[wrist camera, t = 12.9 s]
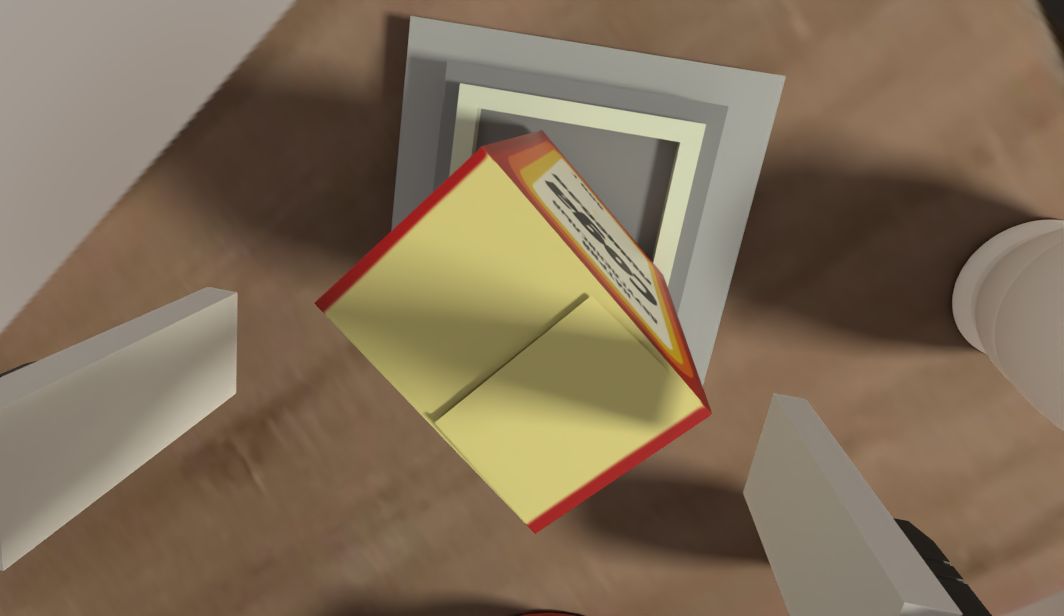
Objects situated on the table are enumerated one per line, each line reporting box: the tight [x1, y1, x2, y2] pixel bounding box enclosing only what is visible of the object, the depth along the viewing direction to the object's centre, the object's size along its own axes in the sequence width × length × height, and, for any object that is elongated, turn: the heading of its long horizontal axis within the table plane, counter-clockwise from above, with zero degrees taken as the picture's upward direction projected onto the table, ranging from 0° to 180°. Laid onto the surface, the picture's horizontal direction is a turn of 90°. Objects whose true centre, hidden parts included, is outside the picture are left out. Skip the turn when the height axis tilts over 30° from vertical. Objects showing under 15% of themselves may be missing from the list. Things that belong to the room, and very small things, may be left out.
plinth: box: [391, 16, 786, 387], centre depth 35 cm, size 20×20×6 cm
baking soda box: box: [315, 130, 712, 534], centre depth 25 cm, size 10×6×16 cm
